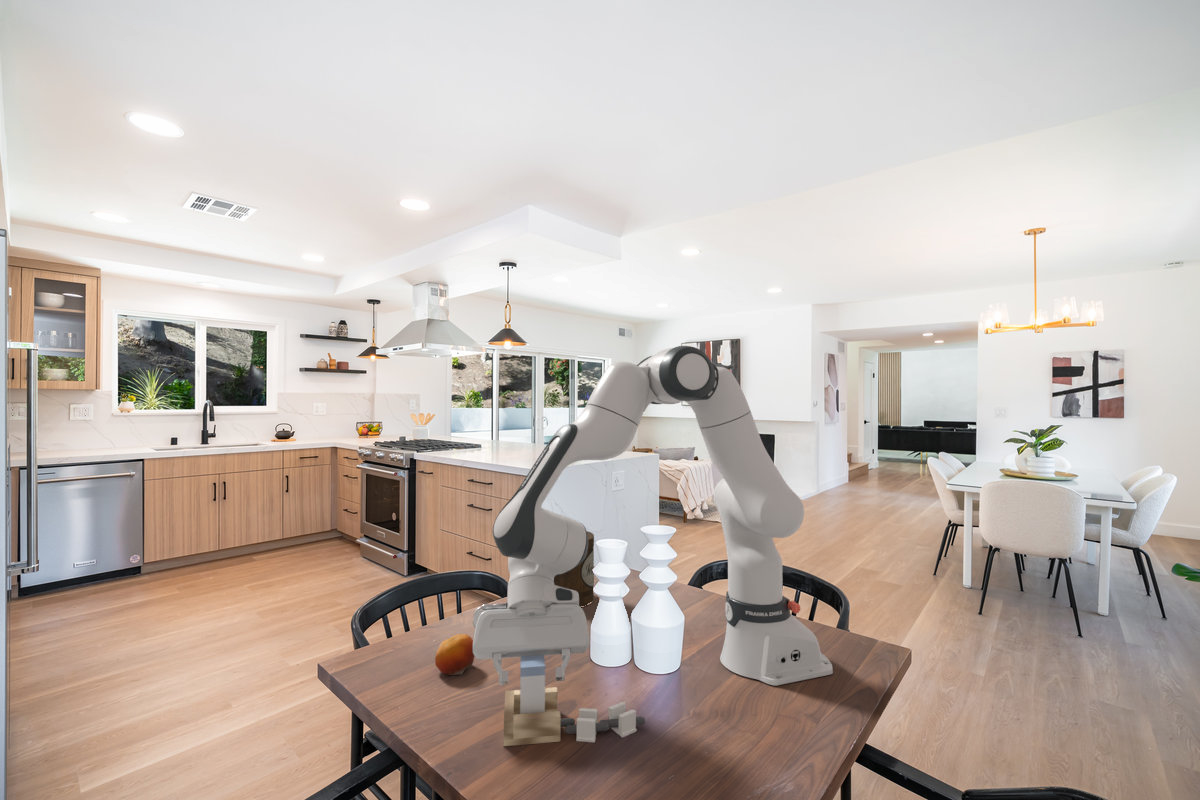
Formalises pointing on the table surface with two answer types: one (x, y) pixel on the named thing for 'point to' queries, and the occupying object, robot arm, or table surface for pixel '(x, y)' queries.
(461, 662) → the fruit
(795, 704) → the table surface
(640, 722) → the cable
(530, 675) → the block
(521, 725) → the end holder
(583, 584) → the wooden container
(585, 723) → the clip
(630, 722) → the clip
